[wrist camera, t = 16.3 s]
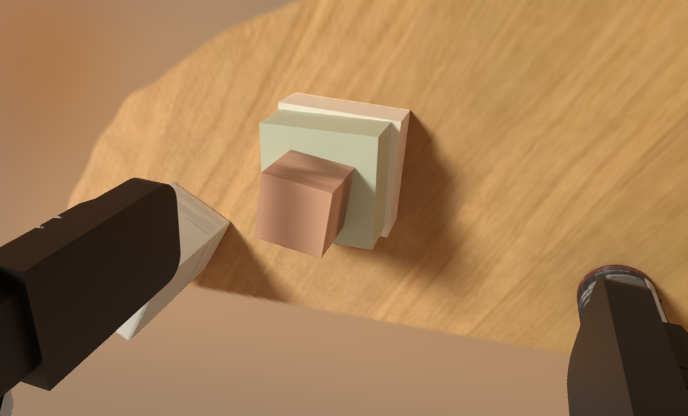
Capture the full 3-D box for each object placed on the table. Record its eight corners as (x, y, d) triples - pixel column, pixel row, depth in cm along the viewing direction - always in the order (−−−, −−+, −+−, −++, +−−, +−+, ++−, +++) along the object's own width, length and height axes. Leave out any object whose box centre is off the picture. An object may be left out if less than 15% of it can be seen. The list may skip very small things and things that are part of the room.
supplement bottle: (635, 332, 46) (663, 435, 36) (564, 308, 47) (573, 401, 37) (669, 276, 43) (710, 371, 33) (593, 251, 44) (611, 336, 34)
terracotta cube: (354, 167, 39) (332, 193, 35) (343, 226, 41) (321, 258, 37) (290, 149, 40) (261, 172, 36) (283, 208, 42) (254, 237, 38)
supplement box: (172, 178, 54) (81, 235, 43) (233, 222, 54) (156, 290, 43) (148, 229, 58) (58, 294, 47) (205, 270, 57) (128, 344, 47)
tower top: (391, 121, 41) (378, 137, 37) (384, 227, 45) (371, 250, 41) (281, 109, 43) (259, 122, 40) (283, 210, 47) (263, 230, 44)
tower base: (411, 108, 44) (401, 121, 41) (397, 217, 49) (387, 237, 45) (297, 91, 46) (278, 102, 43) (293, 196, 51) (276, 214, 47)
